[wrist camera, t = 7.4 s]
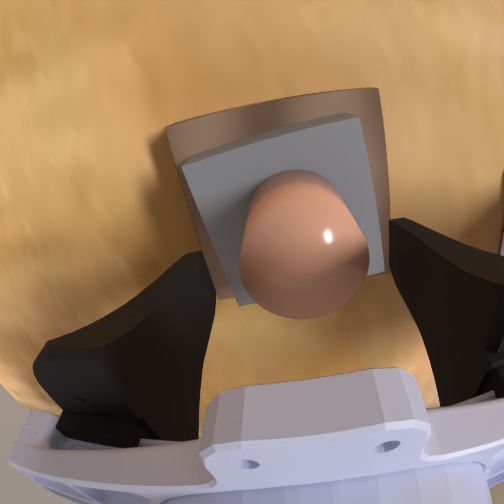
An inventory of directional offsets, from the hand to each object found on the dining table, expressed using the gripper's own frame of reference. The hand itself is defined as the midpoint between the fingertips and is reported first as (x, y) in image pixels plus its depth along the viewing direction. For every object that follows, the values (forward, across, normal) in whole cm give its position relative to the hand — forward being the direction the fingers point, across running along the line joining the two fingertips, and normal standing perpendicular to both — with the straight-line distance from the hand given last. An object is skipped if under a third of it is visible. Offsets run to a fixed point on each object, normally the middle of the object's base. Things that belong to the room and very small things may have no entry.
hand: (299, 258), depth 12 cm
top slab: (+6, 0, 0) cm, 6 cm away
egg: (+3, 0, 0) cm, 3 cm away
